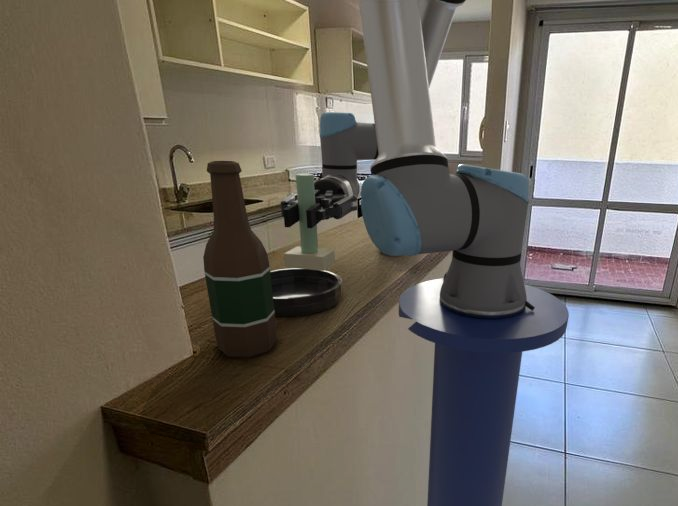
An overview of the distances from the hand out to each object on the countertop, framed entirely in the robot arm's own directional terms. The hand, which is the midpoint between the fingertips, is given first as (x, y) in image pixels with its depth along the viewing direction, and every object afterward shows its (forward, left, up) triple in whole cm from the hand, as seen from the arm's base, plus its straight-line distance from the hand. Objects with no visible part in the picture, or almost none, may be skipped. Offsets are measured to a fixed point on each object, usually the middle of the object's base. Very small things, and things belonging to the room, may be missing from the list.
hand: (297, 218), depth 68 cm
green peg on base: (+1, -5, -9) cm, 11 cm away
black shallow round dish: (+3, -3, -15) cm, 16 cm away
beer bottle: (+1, +15, -15) cm, 21 cm away
